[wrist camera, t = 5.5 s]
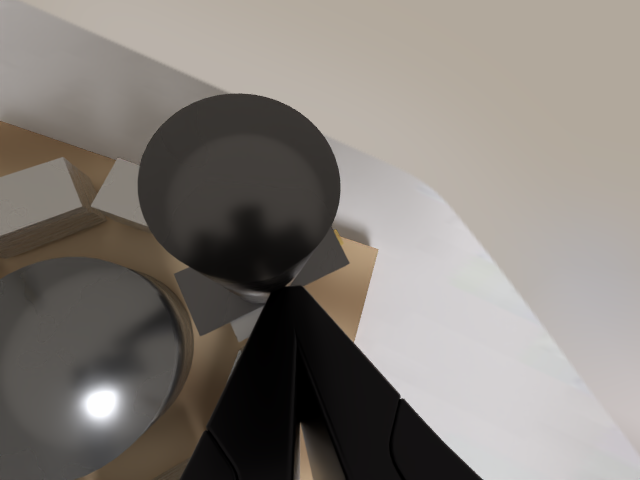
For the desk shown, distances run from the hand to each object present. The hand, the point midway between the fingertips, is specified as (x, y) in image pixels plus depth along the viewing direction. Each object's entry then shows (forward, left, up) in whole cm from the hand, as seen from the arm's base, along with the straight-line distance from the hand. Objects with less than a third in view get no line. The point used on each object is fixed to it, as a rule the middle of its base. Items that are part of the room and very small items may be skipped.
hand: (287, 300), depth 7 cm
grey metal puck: (-4, +6, -8) cm, 11 cm away
